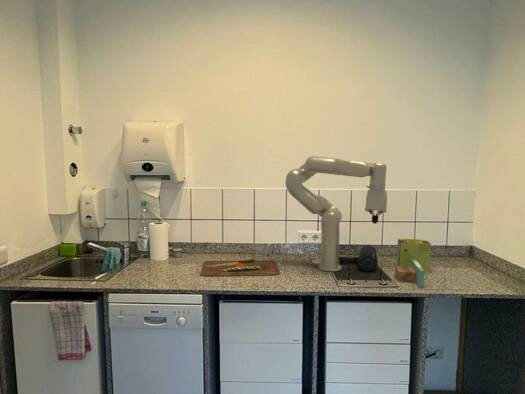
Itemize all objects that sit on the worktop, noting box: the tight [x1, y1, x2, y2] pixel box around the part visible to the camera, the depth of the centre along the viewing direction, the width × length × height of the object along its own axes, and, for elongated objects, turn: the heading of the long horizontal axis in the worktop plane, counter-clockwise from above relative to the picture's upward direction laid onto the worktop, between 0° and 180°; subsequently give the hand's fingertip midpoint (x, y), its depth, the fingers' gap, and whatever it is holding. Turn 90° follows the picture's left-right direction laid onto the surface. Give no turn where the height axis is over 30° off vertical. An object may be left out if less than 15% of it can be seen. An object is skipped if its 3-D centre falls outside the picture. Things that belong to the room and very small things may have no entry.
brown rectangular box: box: [394, 265, 416, 284], centre depth 196 cm, size 8×10×5 cm
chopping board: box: [195, 258, 285, 278], centre depth 211 cm, size 45×27×3 cm, turn 94°
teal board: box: [411, 259, 425, 289], centre depth 193 cm, size 2×20×8 cm, turn 170°
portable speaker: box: [357, 245, 379, 272], centre depth 217 cm, size 25×10×10 cm, turn 164°
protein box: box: [396, 238, 432, 274], centre depth 212 cm, size 10×15×16 cm
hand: (374, 223), depth 203 cm, fingers closed
